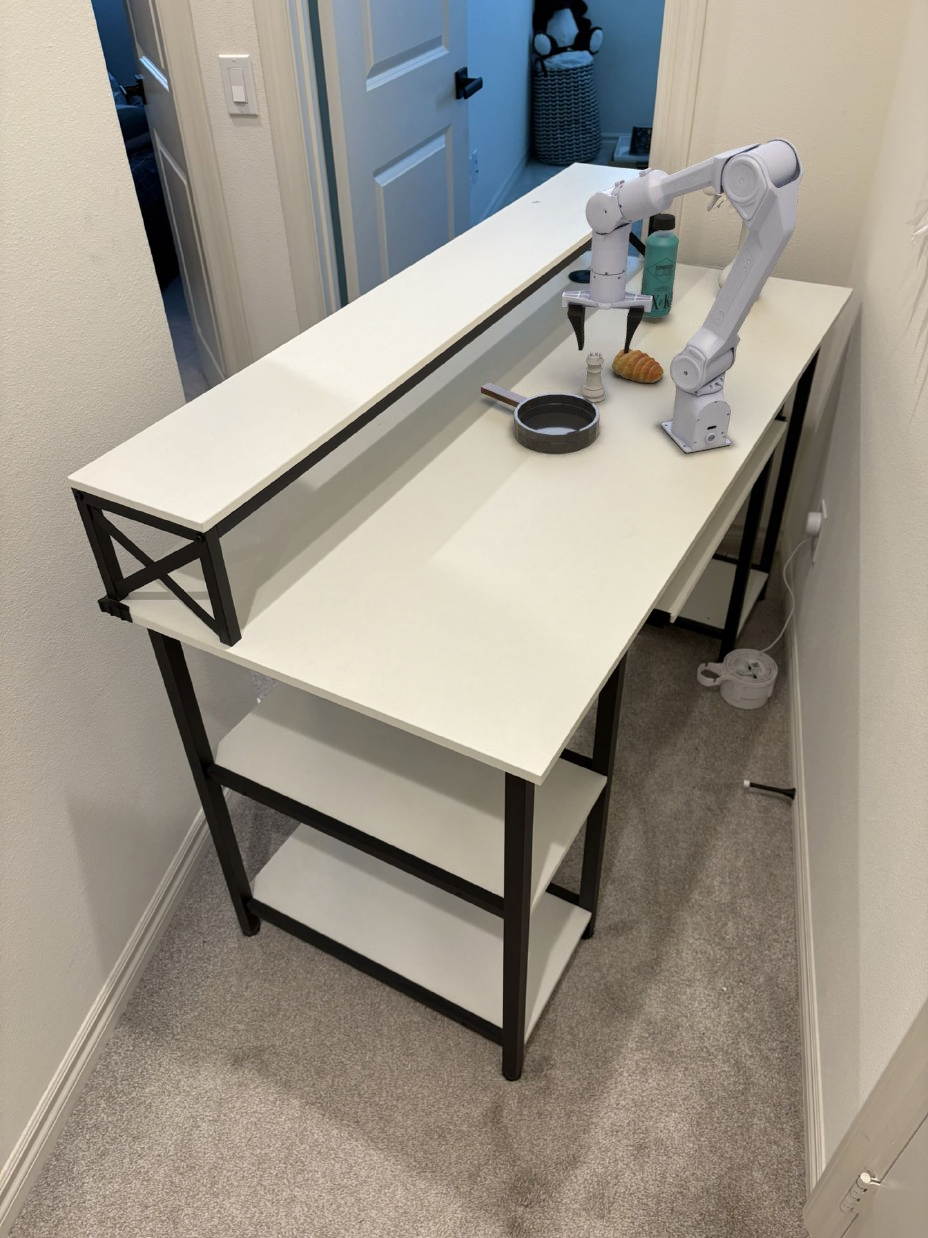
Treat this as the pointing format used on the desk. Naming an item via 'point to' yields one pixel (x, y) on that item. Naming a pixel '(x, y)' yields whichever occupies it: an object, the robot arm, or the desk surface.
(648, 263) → the beverage bottle
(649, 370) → the pastry
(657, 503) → the desk surface
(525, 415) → the pan
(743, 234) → the flower vase
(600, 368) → the rook chess piece
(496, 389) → the pan handle
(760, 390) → the desk surface
